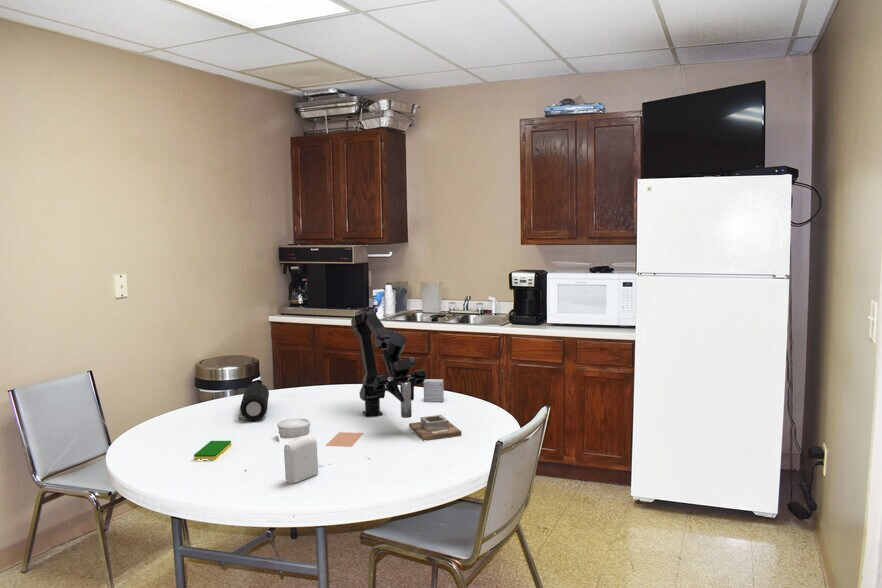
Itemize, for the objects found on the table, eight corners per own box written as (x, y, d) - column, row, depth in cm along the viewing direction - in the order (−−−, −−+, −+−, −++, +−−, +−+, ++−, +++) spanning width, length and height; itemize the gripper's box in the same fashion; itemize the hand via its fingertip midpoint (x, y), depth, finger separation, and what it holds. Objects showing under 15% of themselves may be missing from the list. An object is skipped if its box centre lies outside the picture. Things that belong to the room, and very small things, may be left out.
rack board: (409, 427, 239) (408, 415, 239) (445, 422, 244) (445, 410, 244) (423, 440, 224) (422, 428, 224) (461, 435, 229) (461, 422, 229)
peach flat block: (339, 436, 231) (339, 432, 231) (364, 437, 229) (364, 433, 229) (325, 450, 217) (325, 445, 217) (351, 451, 216) (351, 446, 216)
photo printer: (292, 485, 189) (290, 443, 187) (283, 481, 191) (281, 440, 190) (320, 474, 197) (318, 434, 195) (311, 471, 199) (309, 431, 198)
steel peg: (399, 417, 226) (398, 382, 225) (405, 414, 229) (404, 380, 228) (407, 418, 224) (406, 383, 223) (413, 415, 227) (412, 381, 226)
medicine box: (443, 399, 276) (443, 379, 275) (442, 402, 272) (442, 381, 271) (425, 399, 277) (424, 379, 276) (423, 402, 272) (423, 381, 271)
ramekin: (317, 436, 232) (316, 421, 231) (290, 444, 224) (289, 429, 223) (298, 430, 239) (298, 415, 239) (271, 438, 231) (271, 423, 231)
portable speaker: (267, 421, 250) (266, 395, 249) (240, 424, 248) (238, 398, 247) (269, 403, 275) (268, 380, 274) (244, 405, 273) (243, 382, 272)
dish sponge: (193, 462, 210) (193, 454, 210) (211, 447, 224) (210, 440, 224) (215, 462, 210) (215, 454, 210) (232, 447, 224) (231, 440, 223)
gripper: (374, 352, 223) (388, 392, 215) (424, 346, 232) (439, 384, 224) (366, 371, 231) (380, 409, 223) (414, 364, 240) (429, 401, 232)
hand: (407, 400), depth 225 cm, fingers closed on steel peg, 4 cm apart
